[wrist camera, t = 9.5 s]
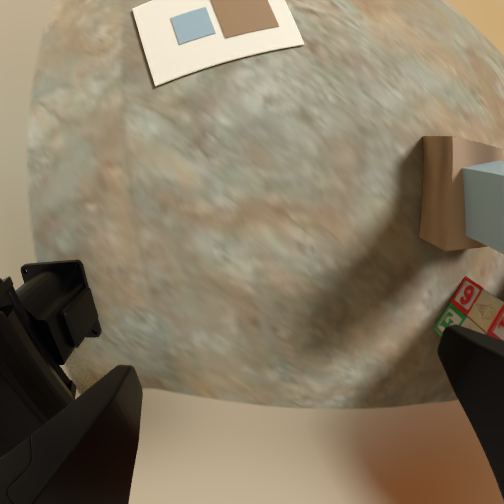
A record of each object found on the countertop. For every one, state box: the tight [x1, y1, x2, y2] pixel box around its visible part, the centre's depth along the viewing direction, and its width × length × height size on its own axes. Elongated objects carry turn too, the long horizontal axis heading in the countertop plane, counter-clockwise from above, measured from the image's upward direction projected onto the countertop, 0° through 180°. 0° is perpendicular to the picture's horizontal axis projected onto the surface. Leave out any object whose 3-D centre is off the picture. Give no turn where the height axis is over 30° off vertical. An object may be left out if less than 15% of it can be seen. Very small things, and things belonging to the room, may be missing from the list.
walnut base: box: [419, 136, 504, 251], centre depth 18 cm, size 8×8×4 cm
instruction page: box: [133, 0, 304, 86], centre depth 14 cm, size 10×7×1 cm
